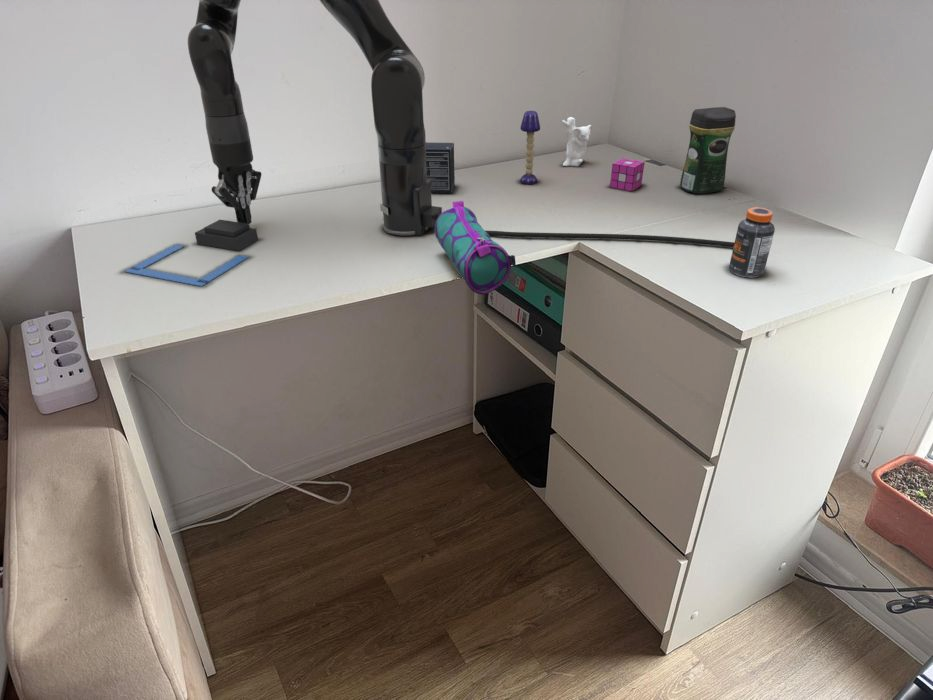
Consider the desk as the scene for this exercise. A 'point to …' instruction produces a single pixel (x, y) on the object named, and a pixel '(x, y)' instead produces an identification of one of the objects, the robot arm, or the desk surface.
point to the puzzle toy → (627, 174)
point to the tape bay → (177, 278)
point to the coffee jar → (708, 149)
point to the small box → (440, 167)
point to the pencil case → (472, 250)
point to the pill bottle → (752, 243)
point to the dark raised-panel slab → (227, 235)
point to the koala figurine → (576, 142)
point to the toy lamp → (529, 144)
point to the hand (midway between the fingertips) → (245, 224)
